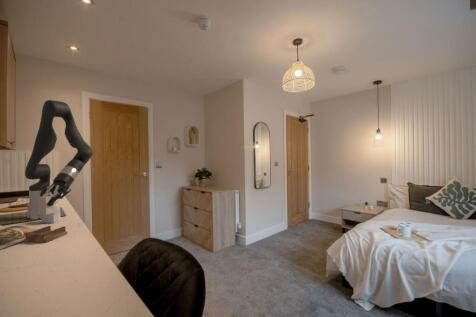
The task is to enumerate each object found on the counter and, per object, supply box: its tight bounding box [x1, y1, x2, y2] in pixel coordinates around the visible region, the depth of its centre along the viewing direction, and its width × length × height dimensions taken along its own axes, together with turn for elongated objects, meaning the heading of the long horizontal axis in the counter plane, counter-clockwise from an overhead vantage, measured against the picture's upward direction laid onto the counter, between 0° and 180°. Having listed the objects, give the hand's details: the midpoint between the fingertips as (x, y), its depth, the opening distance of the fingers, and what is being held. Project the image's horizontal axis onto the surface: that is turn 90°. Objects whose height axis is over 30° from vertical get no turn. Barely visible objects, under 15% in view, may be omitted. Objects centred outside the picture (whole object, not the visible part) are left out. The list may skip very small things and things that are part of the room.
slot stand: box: [23, 225, 68, 244], centre depth 103 cm, size 11×11×4 cm
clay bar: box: [38, 196, 55, 215], centre depth 102 cm, size 4×4×8 cm
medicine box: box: [41, 205, 61, 224], centre depth 126 cm, size 8×4×9 cm, turn 84°
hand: (44, 205), depth 101 cm, fingers closed on clay bar, 4 cm apart
